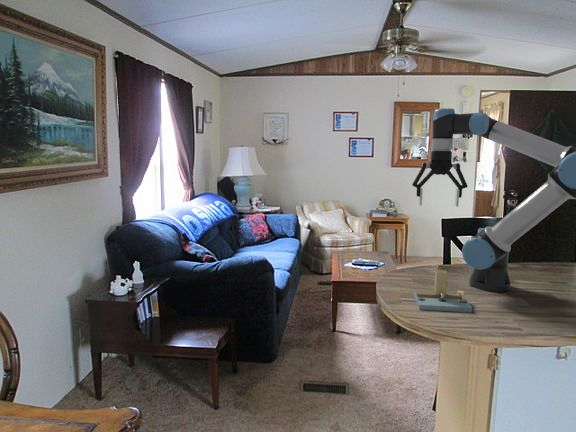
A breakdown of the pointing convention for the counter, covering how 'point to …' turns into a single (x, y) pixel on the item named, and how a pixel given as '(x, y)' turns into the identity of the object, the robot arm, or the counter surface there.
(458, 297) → the board
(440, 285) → the block
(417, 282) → the counter surface
